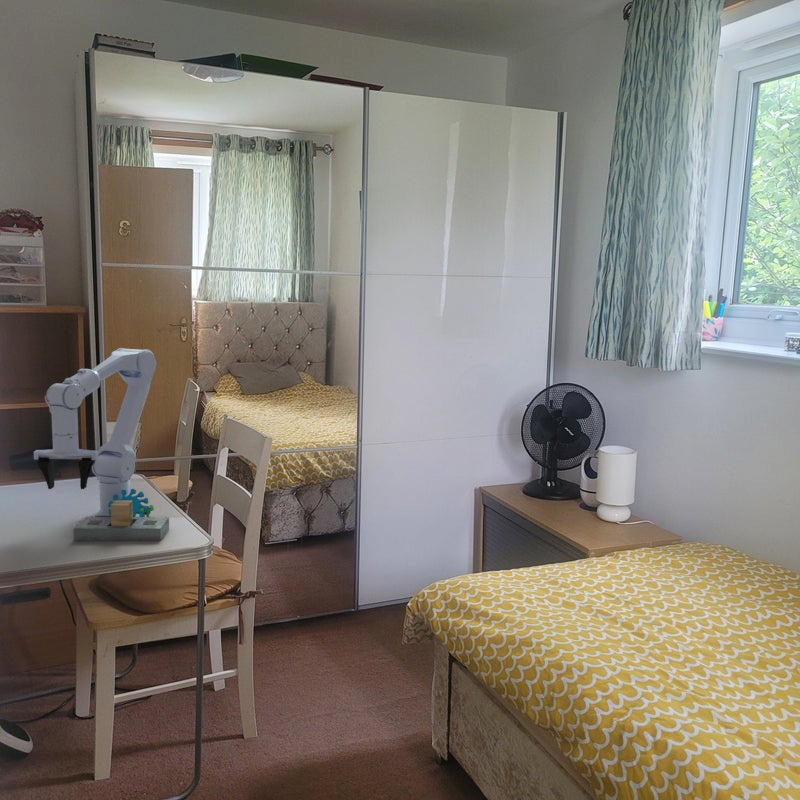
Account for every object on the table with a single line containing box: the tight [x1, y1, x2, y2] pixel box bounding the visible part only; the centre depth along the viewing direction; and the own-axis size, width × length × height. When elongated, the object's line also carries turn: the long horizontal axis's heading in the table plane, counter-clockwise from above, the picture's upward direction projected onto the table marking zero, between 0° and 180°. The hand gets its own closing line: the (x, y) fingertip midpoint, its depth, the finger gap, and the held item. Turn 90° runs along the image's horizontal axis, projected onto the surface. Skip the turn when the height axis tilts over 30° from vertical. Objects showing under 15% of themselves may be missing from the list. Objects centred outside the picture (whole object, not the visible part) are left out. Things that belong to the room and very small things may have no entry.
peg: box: [110, 501, 133, 526], centre depth 184 cm, size 4×4×8 cm
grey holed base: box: [73, 516, 170, 542], centre depth 185 cm, size 9×20×3 cm, turn 94°
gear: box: [108, 488, 154, 517], centre depth 197 cm, size 11×6×10 cm
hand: (67, 488), depth 186 cm, fingers open, 7 cm apart
